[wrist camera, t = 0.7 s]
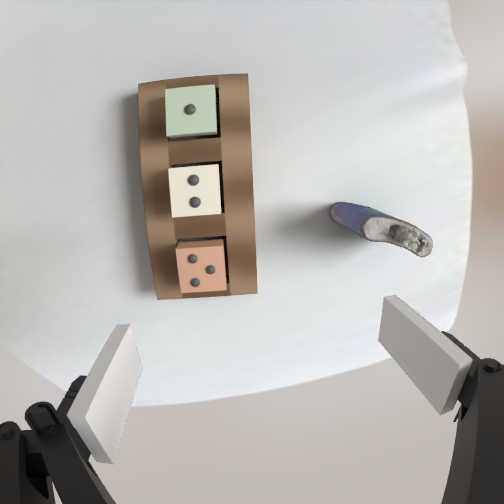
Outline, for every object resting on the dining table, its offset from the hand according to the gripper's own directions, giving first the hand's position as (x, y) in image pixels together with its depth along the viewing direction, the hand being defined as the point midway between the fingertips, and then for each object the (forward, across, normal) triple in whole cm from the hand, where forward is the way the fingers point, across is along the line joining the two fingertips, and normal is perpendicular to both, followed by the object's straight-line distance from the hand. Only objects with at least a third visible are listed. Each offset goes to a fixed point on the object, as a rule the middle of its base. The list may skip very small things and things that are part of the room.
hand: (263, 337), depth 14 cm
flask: (+20, +15, +2) cm, 25 cm away
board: (+20, -4, +6) cm, 21 cm away
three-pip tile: (+17, -4, -1) cm, 18 cm away
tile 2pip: (+17, -4, +6) cm, 19 cm away
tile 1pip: (+17, -4, +14) cm, 22 cm away
